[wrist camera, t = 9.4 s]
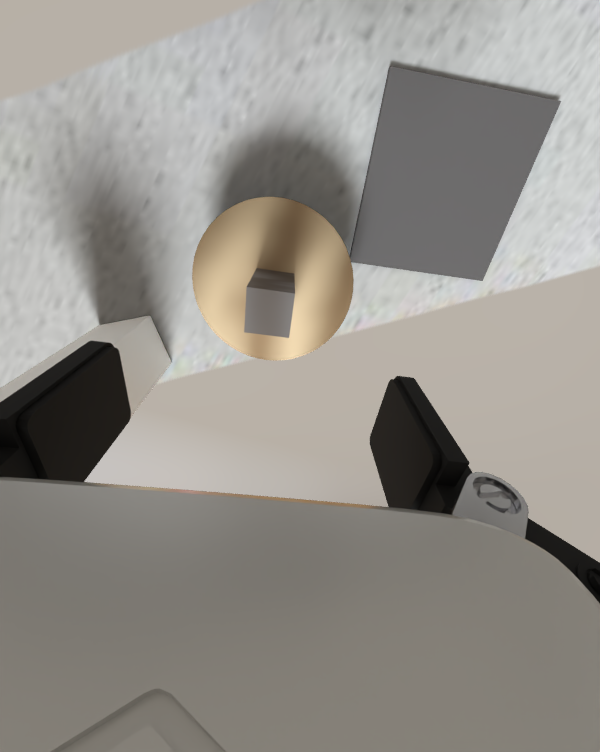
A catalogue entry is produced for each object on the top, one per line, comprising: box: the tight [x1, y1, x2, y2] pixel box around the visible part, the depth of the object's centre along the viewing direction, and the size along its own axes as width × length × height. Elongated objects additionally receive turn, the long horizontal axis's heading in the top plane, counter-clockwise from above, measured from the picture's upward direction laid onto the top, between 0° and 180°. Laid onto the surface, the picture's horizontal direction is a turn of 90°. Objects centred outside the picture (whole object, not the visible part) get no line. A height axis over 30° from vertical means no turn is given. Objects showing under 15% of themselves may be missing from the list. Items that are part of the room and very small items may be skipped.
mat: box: [350, 66, 561, 281], centre depth 27 cm, size 14×14×1 cm
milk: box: [0, 316, 172, 418], centre depth 24 cm, size 6×6×22 cm
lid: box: [192, 197, 353, 360], centre depth 22 cm, size 13×13×7 cm
